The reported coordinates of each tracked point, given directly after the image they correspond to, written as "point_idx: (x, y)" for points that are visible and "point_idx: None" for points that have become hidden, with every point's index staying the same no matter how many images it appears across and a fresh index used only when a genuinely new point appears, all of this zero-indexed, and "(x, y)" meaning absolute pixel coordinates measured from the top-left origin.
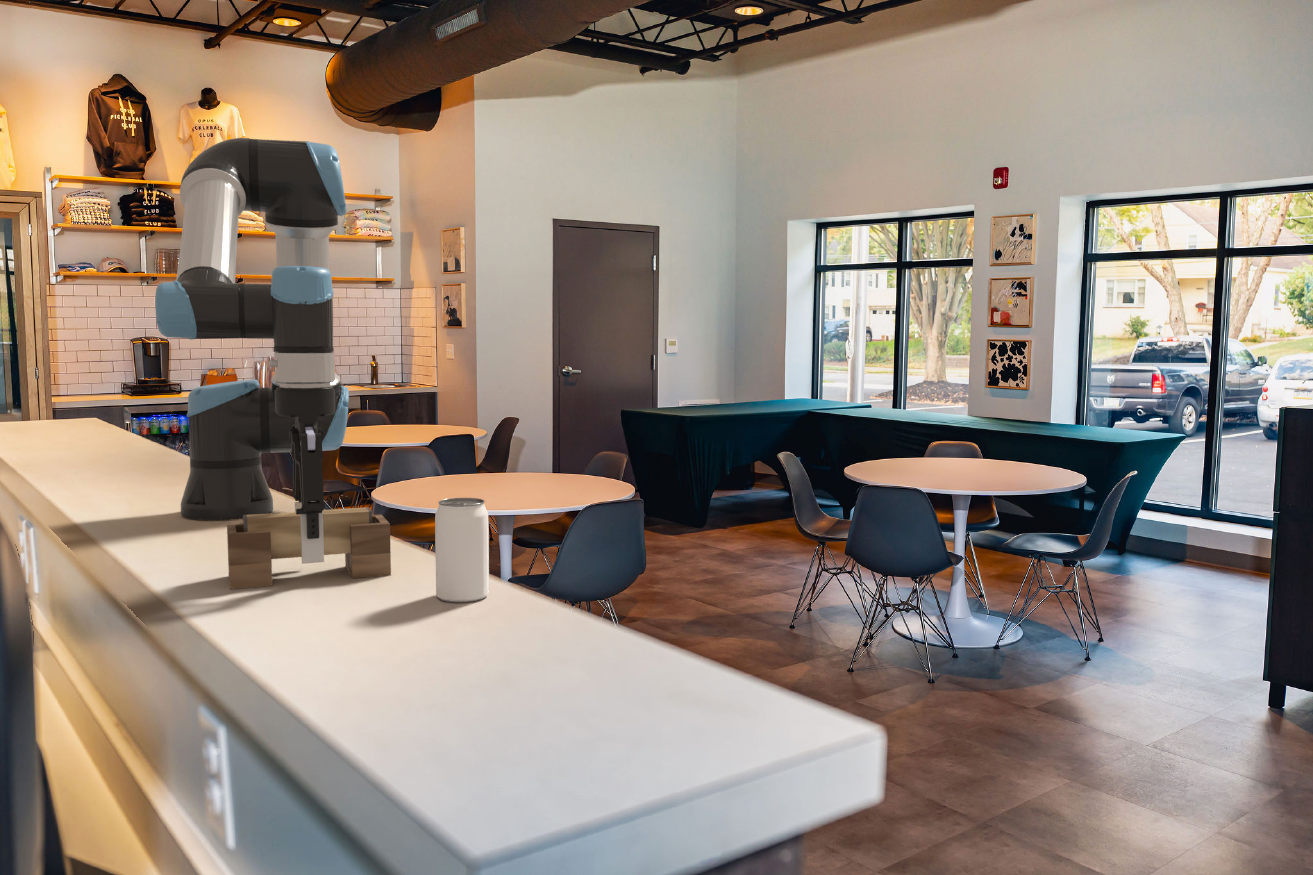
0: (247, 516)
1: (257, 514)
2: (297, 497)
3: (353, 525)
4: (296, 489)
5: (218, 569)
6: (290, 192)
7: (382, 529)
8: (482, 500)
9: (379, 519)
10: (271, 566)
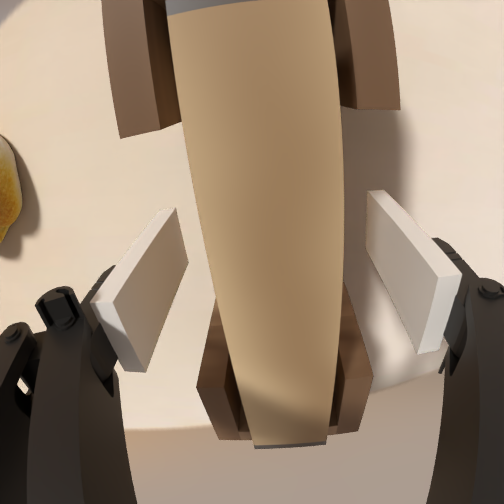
0: (282, 443)
1: (256, 432)
2: (116, 379)
3: (380, 96)
4: (119, 416)
5: (171, 361)
6: None
7: None
8: None
9: None
10: (352, 308)
